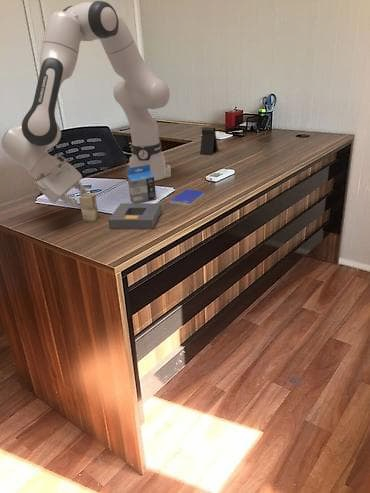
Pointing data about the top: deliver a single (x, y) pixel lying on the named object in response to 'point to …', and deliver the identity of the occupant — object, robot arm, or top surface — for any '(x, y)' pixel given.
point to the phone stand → (208, 141)
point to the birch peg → (89, 207)
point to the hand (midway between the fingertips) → (80, 198)
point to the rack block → (135, 216)
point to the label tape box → (141, 184)
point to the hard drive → (187, 197)
